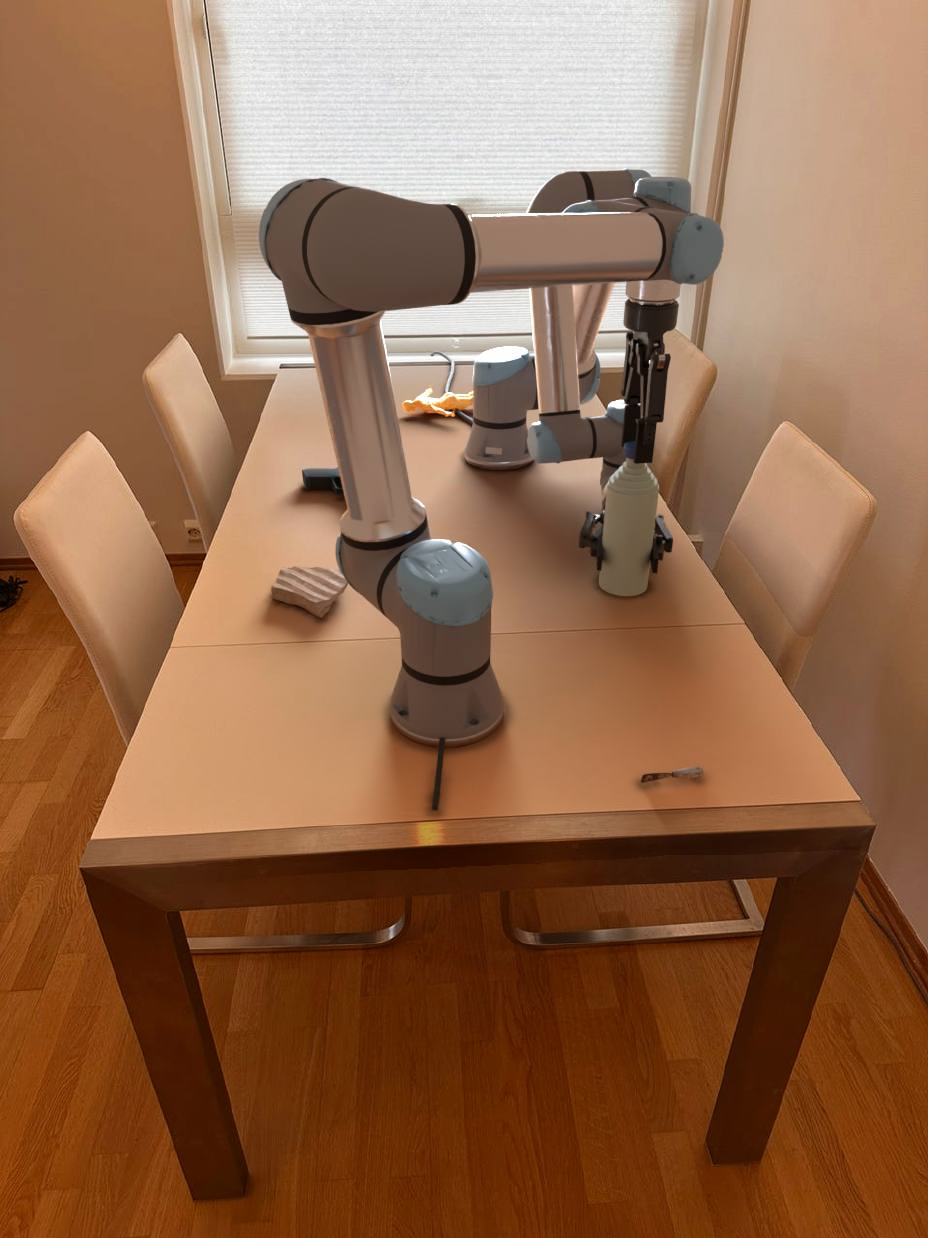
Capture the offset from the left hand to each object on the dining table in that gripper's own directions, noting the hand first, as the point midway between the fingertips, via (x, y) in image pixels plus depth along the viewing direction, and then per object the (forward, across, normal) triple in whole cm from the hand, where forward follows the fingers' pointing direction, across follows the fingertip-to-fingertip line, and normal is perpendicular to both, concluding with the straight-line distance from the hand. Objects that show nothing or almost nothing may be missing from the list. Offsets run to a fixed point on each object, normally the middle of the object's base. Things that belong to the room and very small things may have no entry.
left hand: (636, 453), depth 138 cm
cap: (-1, 0, 0) cm, 1 cm away
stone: (+23, +2, +52) cm, 57 cm away
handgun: (+23, +43, +48) cm, 68 cm away
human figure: (+23, +92, +19) cm, 97 cm away
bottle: (+23, 0, 0) cm, 23 cm away
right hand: (+17, -5, +1) cm, 18 cm away
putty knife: (+23, -48, +8) cm, 54 cm away
